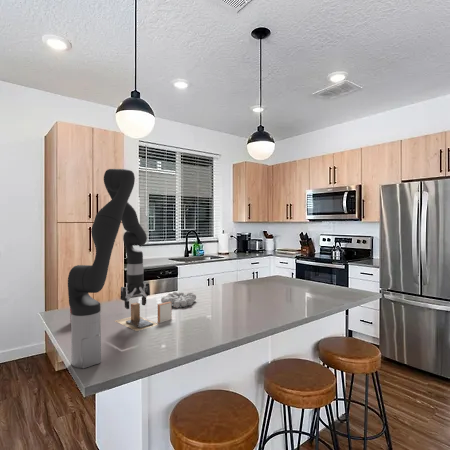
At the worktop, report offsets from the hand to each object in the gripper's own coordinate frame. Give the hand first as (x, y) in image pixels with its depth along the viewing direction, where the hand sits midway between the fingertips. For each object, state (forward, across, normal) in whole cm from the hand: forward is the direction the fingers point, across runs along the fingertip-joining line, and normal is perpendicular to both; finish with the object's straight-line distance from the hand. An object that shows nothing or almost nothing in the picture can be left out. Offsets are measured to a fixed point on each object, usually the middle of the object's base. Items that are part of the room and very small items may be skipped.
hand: (135, 306), depth 149 cm
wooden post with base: (+7, 0, -4) cm, 8 cm away
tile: (+8, +11, -8) cm, 16 cm away
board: (+8, 0, -1) cm, 8 cm away
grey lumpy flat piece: (+9, +37, +14) cm, 40 cm away
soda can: (+8, -18, +21) cm, 29 cm away
